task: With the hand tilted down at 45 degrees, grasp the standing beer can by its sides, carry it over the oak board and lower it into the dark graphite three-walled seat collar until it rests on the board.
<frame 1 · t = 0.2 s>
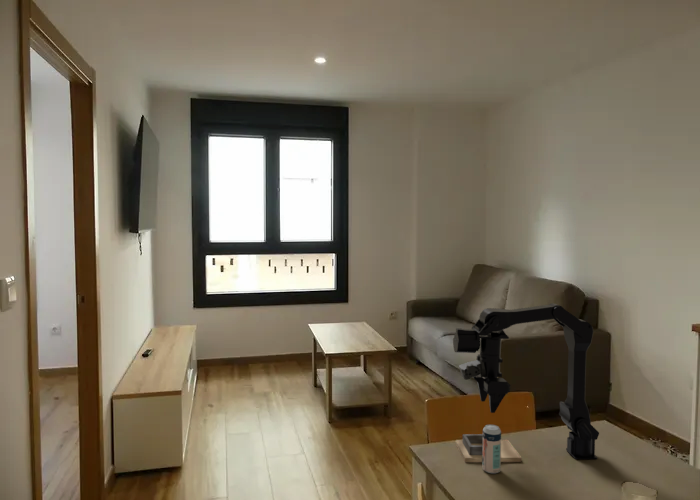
hand: (487, 406, 148), 15 cm above the table, tool pointing down, fingers open, 9 cm apart
beer can: (491, 471, 141), on the table
seat board: (487, 452, 152), on the table
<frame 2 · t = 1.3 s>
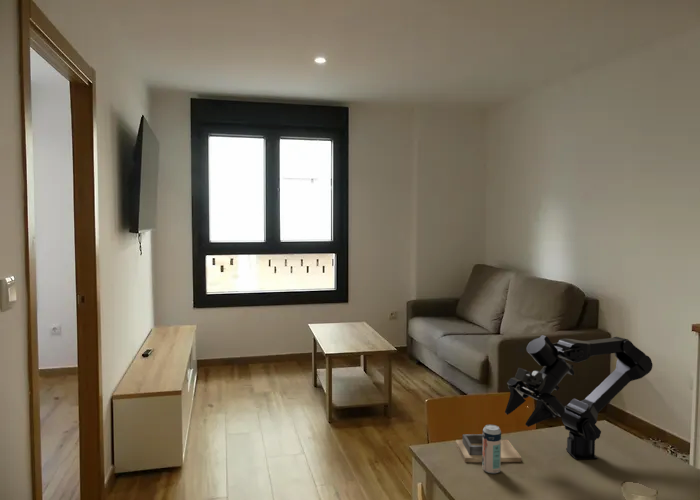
hand: (516, 419, 142), 13 cm above the table, tool tilted 45°, fingers open, 9 cm apart
nothing on the table moved.
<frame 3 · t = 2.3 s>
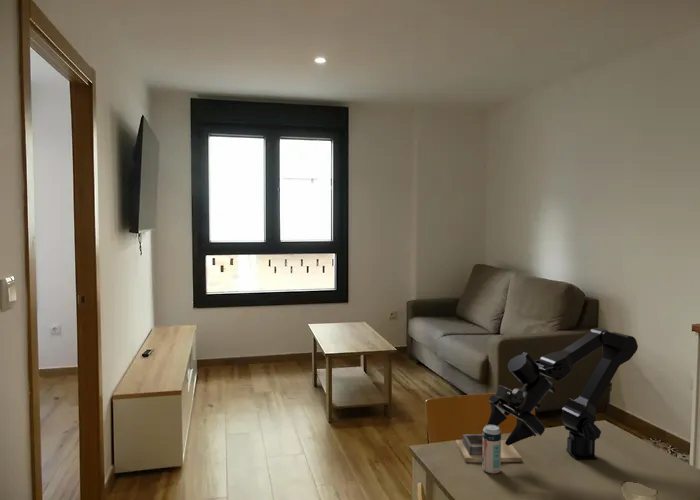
hand: (496, 437, 140), 9 cm above the table, tool tilted 45°, fingers open, 9 cm apart
nothing on the table moved.
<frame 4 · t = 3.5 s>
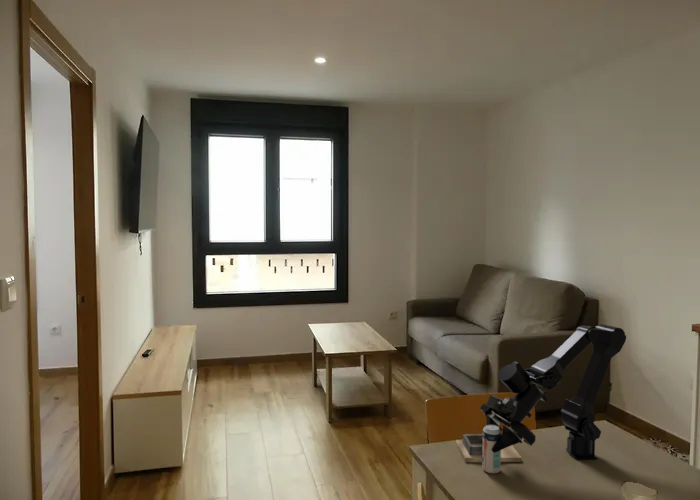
hand: (487, 447, 140), 7 cm above the table, tool tilted 45°, fingers closed on beer can, 5 cm apart
beer can: (491, 471, 140), on the table, touching gripper
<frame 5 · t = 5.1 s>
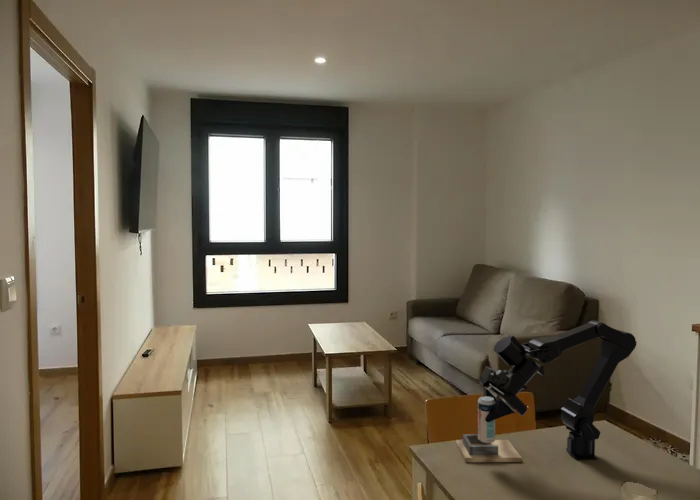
hand: (482, 417, 144), 13 cm above the table, tool tilted 45°, fingers closed on beer can, 5 cm apart
beer can: (486, 441, 144), point 6 cm above the table, touching gripper
when the fingers open (8 cm above the table, at t = 6.8 s): beer can stays where it is, resting on seat board.
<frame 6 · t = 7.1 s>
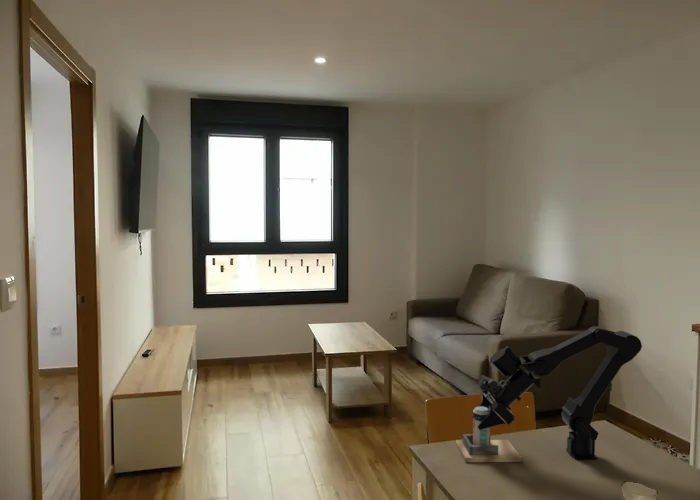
hand: (476, 423, 151), 9 cm above the table, tool tilted 45°, fingers open, 7 cm apart
beer can: (481, 449, 151), point 1 cm above the table, touching seat board
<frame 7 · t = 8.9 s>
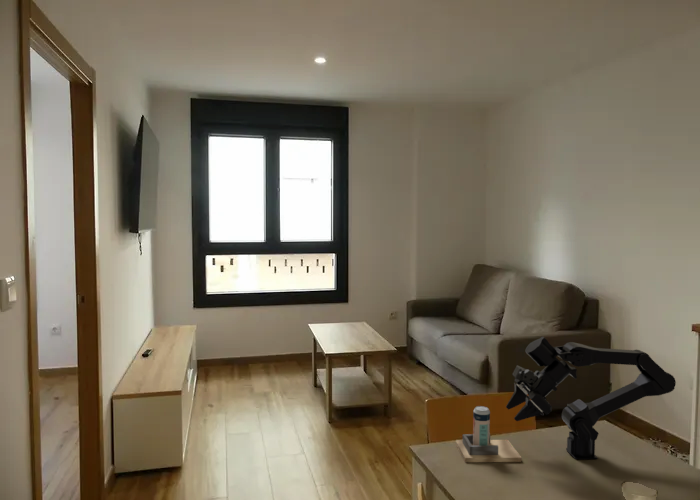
hand: (511, 413, 150), 12 cm above the table, tool tilted 45°, fingers open, 9 cm apart
nothing on the table moved.
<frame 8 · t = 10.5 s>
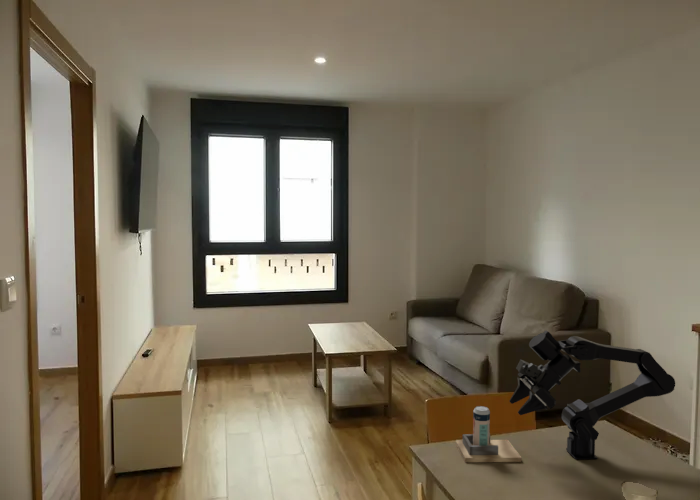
hand: (514, 408, 150), 14 cm above the table, tool tilted 45°, fingers open, 9 cm apart
nothing on the table moved.
at the end: beer can 0.3 cm from the target spot, point 1.0 cm above the table; beer can tilted 0°; the gripper is holding nothing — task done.
